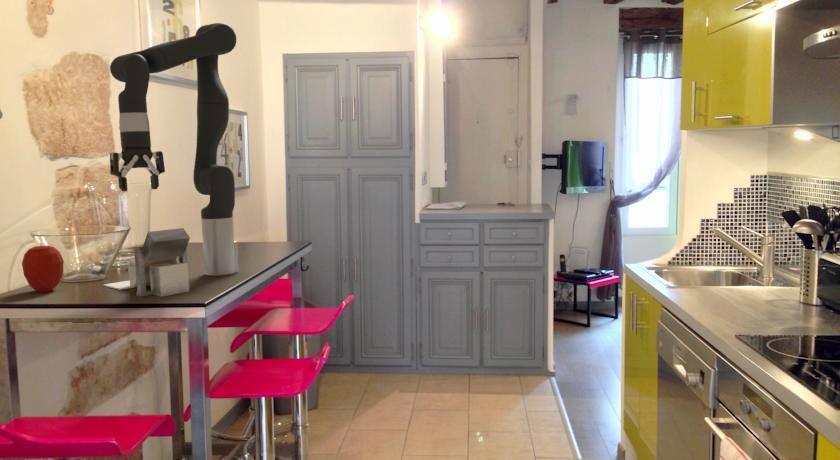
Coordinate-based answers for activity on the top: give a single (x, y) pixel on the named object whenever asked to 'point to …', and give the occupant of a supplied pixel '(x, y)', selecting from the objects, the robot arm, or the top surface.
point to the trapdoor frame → (162, 276)
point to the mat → (119, 285)
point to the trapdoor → (162, 249)
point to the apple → (43, 268)
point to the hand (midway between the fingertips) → (139, 190)
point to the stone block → (131, 274)
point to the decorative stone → (132, 263)
